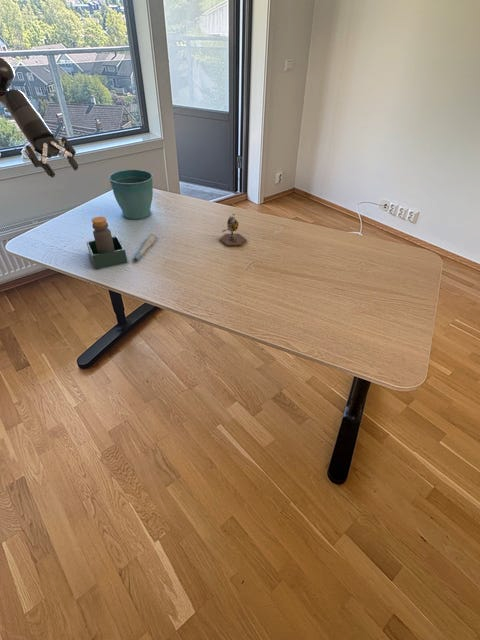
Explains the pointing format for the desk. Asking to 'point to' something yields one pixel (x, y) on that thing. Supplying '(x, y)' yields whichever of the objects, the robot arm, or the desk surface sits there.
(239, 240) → the brown figurine on base
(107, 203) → the desk surface
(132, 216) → the flower pot
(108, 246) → the bottle
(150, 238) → the pen
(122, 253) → the green open box
